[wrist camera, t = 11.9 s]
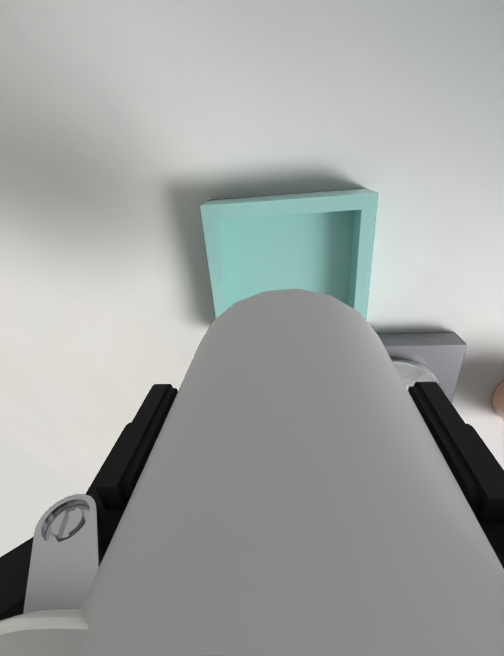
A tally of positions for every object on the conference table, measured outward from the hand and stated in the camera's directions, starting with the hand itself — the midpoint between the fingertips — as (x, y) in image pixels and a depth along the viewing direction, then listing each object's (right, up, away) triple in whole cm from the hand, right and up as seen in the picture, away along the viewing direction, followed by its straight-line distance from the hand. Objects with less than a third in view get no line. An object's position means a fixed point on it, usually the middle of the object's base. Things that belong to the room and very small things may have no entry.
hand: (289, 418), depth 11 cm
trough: (+2, +8, +14) cm, 16 cm away
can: (0, +2, +3) cm, 3 cm away
